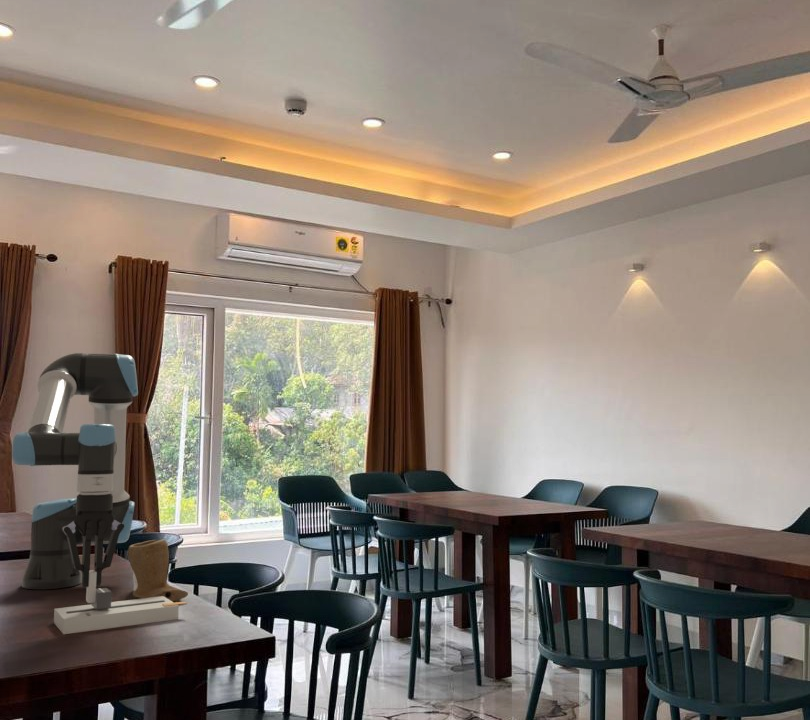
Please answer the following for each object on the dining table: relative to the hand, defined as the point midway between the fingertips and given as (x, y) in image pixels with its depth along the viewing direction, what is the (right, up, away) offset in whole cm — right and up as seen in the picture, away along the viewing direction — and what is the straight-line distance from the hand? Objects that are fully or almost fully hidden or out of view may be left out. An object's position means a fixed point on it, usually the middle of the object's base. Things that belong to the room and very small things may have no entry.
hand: (90, 601), depth 168 cm
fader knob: (+2, -1, +1) cm, 3 cm away
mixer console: (+6, -5, +3) cm, 8 cm away
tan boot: (+6, -8, +24) cm, 26 cm away
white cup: (0, -9, +37) cm, 38 cm away
